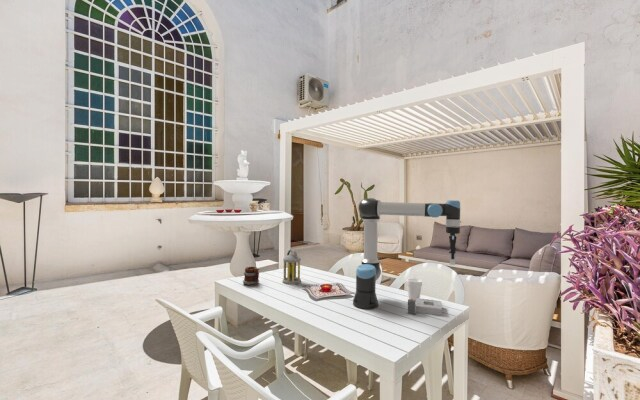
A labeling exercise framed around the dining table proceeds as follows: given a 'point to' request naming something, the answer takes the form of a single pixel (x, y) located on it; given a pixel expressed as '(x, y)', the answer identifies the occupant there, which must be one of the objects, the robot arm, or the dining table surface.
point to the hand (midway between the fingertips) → (452, 262)
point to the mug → (251, 276)
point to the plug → (411, 306)
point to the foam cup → (414, 288)
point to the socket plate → (428, 306)
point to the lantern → (291, 268)
